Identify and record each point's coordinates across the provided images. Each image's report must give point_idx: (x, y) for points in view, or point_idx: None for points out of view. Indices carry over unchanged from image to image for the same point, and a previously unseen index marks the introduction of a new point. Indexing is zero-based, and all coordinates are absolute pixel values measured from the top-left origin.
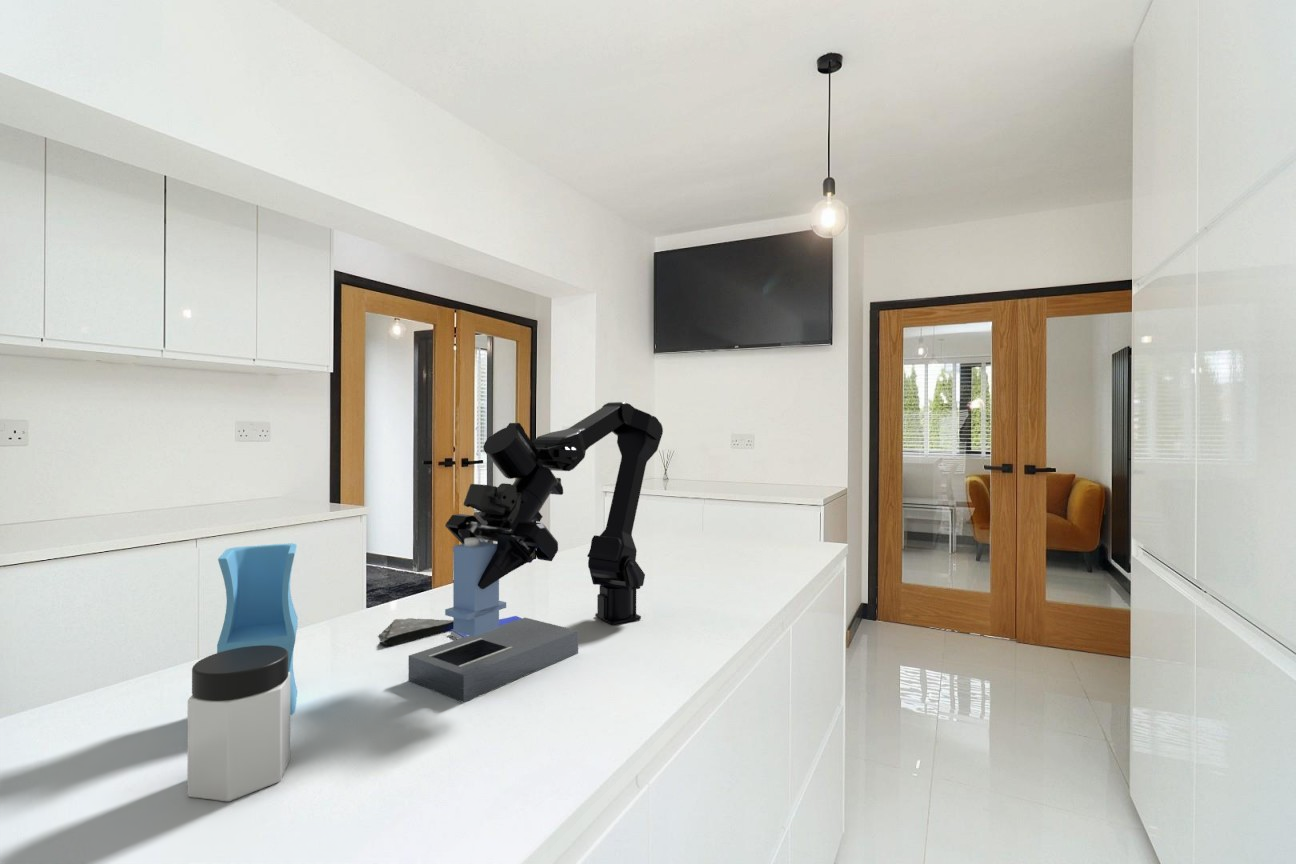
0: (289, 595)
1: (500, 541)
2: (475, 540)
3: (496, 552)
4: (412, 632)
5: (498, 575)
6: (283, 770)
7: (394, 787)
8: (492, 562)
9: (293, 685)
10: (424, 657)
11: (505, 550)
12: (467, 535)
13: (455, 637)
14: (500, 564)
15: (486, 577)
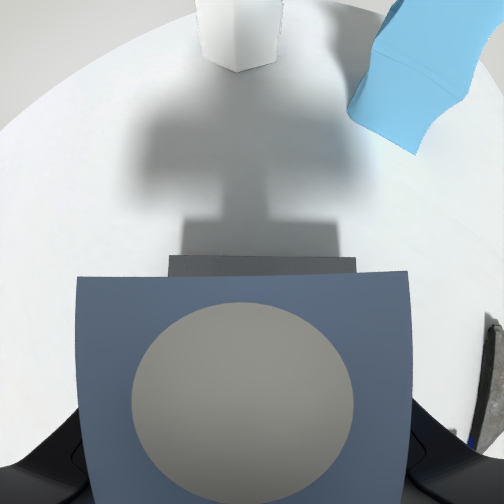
0: (441, 20)
1: (11, 500)
2: (133, 385)
3: (80, 467)
4: (490, 376)
5: None
6: (209, 58)
7: (102, 108)
8: None
9: (397, 125)
10: (320, 270)
11: (15, 467)
12: (492, 497)
13: None
14: None
15: None
